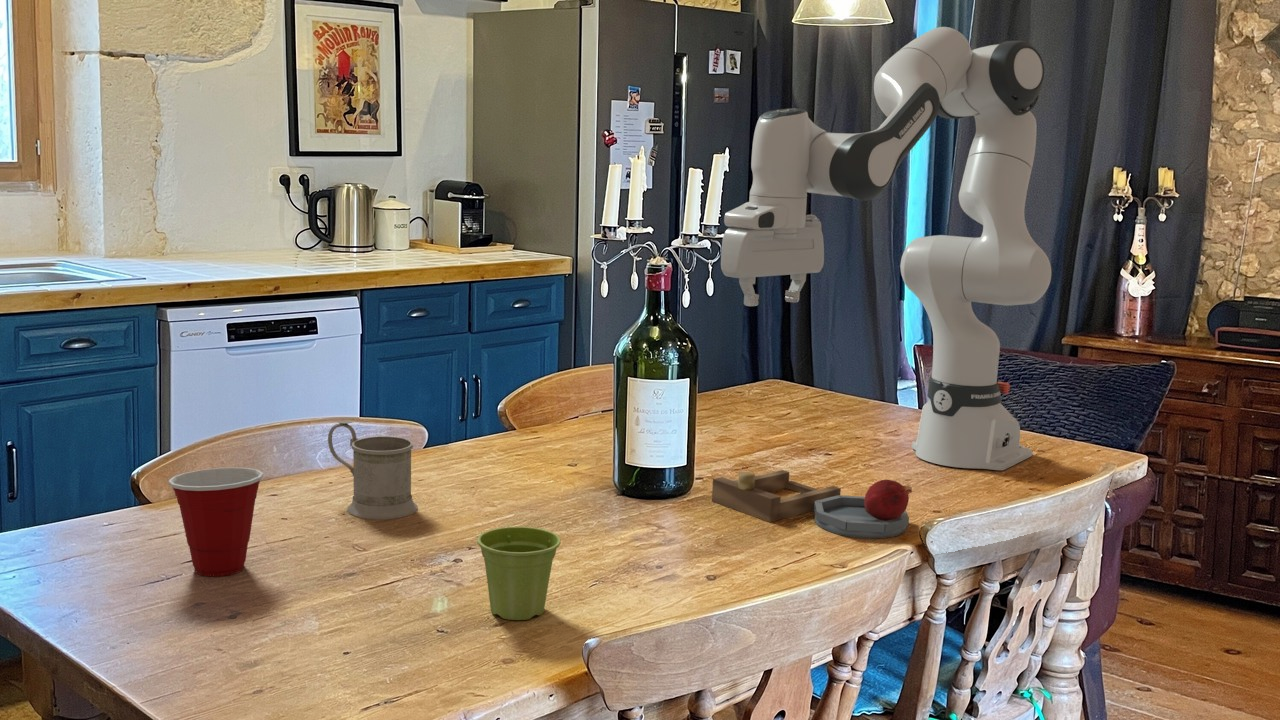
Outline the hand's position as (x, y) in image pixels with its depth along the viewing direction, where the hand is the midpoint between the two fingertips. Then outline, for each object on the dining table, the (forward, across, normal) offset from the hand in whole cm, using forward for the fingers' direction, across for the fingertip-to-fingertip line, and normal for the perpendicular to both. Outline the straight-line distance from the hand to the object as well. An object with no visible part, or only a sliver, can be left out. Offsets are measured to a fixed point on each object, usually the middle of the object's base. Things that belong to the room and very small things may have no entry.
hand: (771, 303), depth 191 cm
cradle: (+29, +6, +9) cm, 31 cm away
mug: (+29, +58, -23) cm, 69 cm away
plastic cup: (+29, +85, -11) cm, 90 cm away
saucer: (+29, +4, +23) cm, 37 cm away
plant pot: (+29, +63, +21) cm, 73 cm away
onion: (+27, +4, +24) cm, 36 cm away
